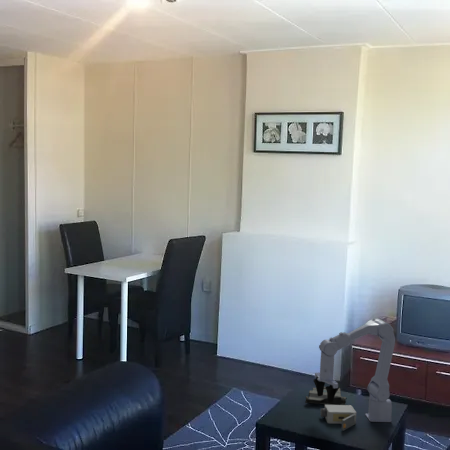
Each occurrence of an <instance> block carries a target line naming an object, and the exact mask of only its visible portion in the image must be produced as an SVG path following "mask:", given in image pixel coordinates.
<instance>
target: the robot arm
mask: <svg viewBox="0 0 450 450" xmlns="http://www.w3.org/2000/svg"><path fill="white" fill-rule="evenodd" d="M394 331H395V329H394V327H392V325H391V324H389V323H388V322H386V321H384V320H382V319H381V318H379V317H375V318H373V319H370V320H368V321H367V322H366V323H364V324H362V325H360V326H359V327H357V328H355V329H354V330H352V331H349V332H343V331H341V332H339V333H338V334H337V335H335V336H334V337H329V339H323V340H321V342H320V344H318V349H319V351H320V364H319V365H320V366H319V372H314V378H315V379H312V380H313V383H314V386H315V388H316V389H317V394H318V396H322V395H323V390H324V387H326V390H327V400H328V403H330V402H333V399H334V396H335V394H336V392H337V391H338V389H339V388H340V386H339V383H338V382H337V381H336V379H334V370H335V369H334V368H335V367H334V366H335V355H337V352H338V351H340V350H342V349H344V348H346V347H348V346H350V345H351V344H352V342H353V341H355V340H357V339H359V338H361V337H364V336H366V335H372V336H378V337H379V339H380V340H381V345H380V350H379V354H378V360H377V363H376V369H375V372H374V375H373V376H372V377H371V378H370V381H369V383H368V385H367V389H366V390H367V391H368V393H369V400H368V413H365V414H364V415H365V416H366V418H367V419H368V421H369V422H370V423H371V422H372V423H392V410H393V405H392V400H391V399H390V395H391V394H390V393H391V392H390V383H389V381H388V378H389V372H390V369H391V363H392V359H393V354H394V351H395V350H394V349H395V345H396V337H395V332H394ZM325 384H327V385H328V386H325Z"/></svg>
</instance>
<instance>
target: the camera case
mask: <svg viewBox="0 0 450 450" xmlns="http://www.w3.org/2000/svg"><path fill="white" fill-rule="evenodd" d="M319 414H320V417H321V418H325V421H326V423H327V424H340V425H342V420H343V419H345V418H347V417H349V416H351V415H352V414H356V415H357V411H356V410H355V409H354V407H353V405H350V404H348V405H347V404H341V405H329V404H324V408H320V413H319ZM355 425H357V422H356V423H355Z"/></svg>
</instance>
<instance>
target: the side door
mask: <svg viewBox="0 0 450 450" xmlns="http://www.w3.org/2000/svg"><path fill="white" fill-rule="evenodd" d="M355 423H356V424H357V413H356V414H352V415H351V416H349V417H347V418H345V419H343V420H342V424H341V431H342V432H343V431H346V430H348V429H349V428H351V427H353V426H354V425H356V424H355Z"/></svg>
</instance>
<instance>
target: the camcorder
mask: <svg viewBox="0 0 450 450" xmlns="http://www.w3.org/2000/svg"><path fill="white" fill-rule="evenodd" d="M341 393H342V391H341V388H340V387H339V389H338V391H337V392H336V394H335V396H334V399H333V402H330V403H328V400H327V390H326V386H324V390H323V395H322V396H318V394H317V389H316V387H312V389H310V390H309V391H308V396H305V402H304V403H305V404H308V403H309V404H317V405H318V404H321V405H346V404H347V403H346V402H347V397H346V396H342V394H341Z"/></svg>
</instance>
